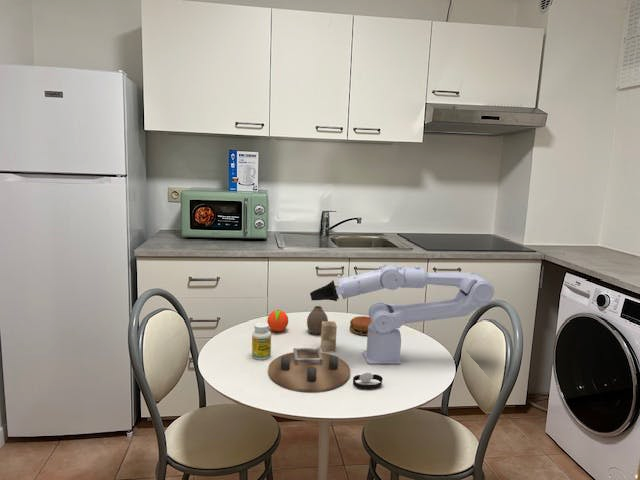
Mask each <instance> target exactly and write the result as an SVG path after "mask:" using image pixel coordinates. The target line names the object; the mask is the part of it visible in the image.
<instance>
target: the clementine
mask: <svg viewBox="0 0 640 480" xmlns="http://www.w3.org/2000/svg"><path fill="white" fill-rule="evenodd" d="M266 321H267V322H266V323H267V324H269V329H270V330H272V331H273V332H282V331H284V330H285V329H286V328H287V327H288V325H289V317H288V315H287V313H286V312H284V311H283V310H280V309H276V310H273V311H272V312H270V313H269V315H268V317H267V320H266Z"/></svg>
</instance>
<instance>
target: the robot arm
mask: <svg viewBox="0 0 640 480" xmlns="http://www.w3.org/2000/svg"><path fill="white" fill-rule="evenodd" d="M337 277H338V279H337V280H338V284H337V285H335V280H331V282H328V283H327V284H325V285H324V286H322V287H319V288H318V289H314V290H313V291H311V292H310V293H309V295H310V299H311V301H334V302H338V300H339V299H340V297H339V295H341V297H342V300H346V299H348V298H352V297H356V296H360V295H364V294H365V295H366V294H368V293H373V292H377V291H381V290H384V289H387V290H391V291H395V290H398V289H399V288H403V289H404V288H405V289H424V288H425V287H426V286H427V285H433V286H445V287H446V286H447V287H456V288H458V293H457V294H456V295H455V297H454V298H449V299H444V300H443V299H441V300H435V301H434V300H433V301H426V302H420V303H419V302H417V303H411V304H410V303H409V304H402V305H401V304H400V305H399V304H395V303H385V302H380V301H379V302H375V303H372V304H371V305H370V307H369V309H368V317H370V318H371V323H370V324H369V326H368V335H366V336H367V337H366V338H367V340H366V350H362V353H363V356H364V358H365V360H366V362H367V364H369V365H372V364H374V365H375V364H376V365H377V364H380V365H381V364H382V365H385V364H386V365H387V364H401V350H402V349H401V348H402V337H401V336H402V334H401V331H400V328H401V327H402V326H404V325H405V324H412V323H421V322H429V321H436V320H445V319H452V318H453V319H455V318H461V317H466V316H469V315H470V314H471V313H473V312H475V311H476V310H477V309H479V308H481V307H483V306H484V307H485V306H487V305H489V303H490V302H491V300H492V299H493V296H494V294H495V288H494V285H492V283H491V282H489V281H487V280H486V279H484V278H483V277H482V276H481V274H478V273H476V272H468V271H454V272H453V271H449V272H446V271H445V272H440V271H438V272H428V271H427V270H426V268H424V267H421V266H420V265H414V267H403V266H402V265H397V268H396V267H395V266H393V265H387V264H384V265H382V266H380V268H379V269H375V270H371V271H366V272H363V273H359V274H354V275H351V276H346V277H341V274H337Z"/></svg>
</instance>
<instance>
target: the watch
mask: <svg viewBox="0 0 640 480" xmlns="http://www.w3.org/2000/svg"><path fill="white" fill-rule="evenodd" d="M372 380H375V381H378V383H376V384H375V383H373V384H367V383H368V382H370V381H372ZM383 380H384V379H383V377H382V376H381V375H380V374H374V373H372V372H370V371H363V372H362V373H361V374H357V375H354V376H353V378H352V385H353V387H354V388H356V389H359V390H366V391H367V390H375V389H379V388H381V386H383V385H382V384H383ZM357 381H361V382H362V383H366V384H362V383H360V382H357Z"/></svg>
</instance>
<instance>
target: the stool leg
mask: <svg viewBox="0 0 640 480" xmlns="http://www.w3.org/2000/svg"><path fill="white" fill-rule="evenodd" d="M337 327H338V326H337V323H336V321H335V320H333V321H332V320H331V321H329V320H328V321H322V328H321V334H320V350H321V352H322V353H327V352H330V353H331V352H336V347H337V331H338V330H337Z"/></svg>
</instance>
